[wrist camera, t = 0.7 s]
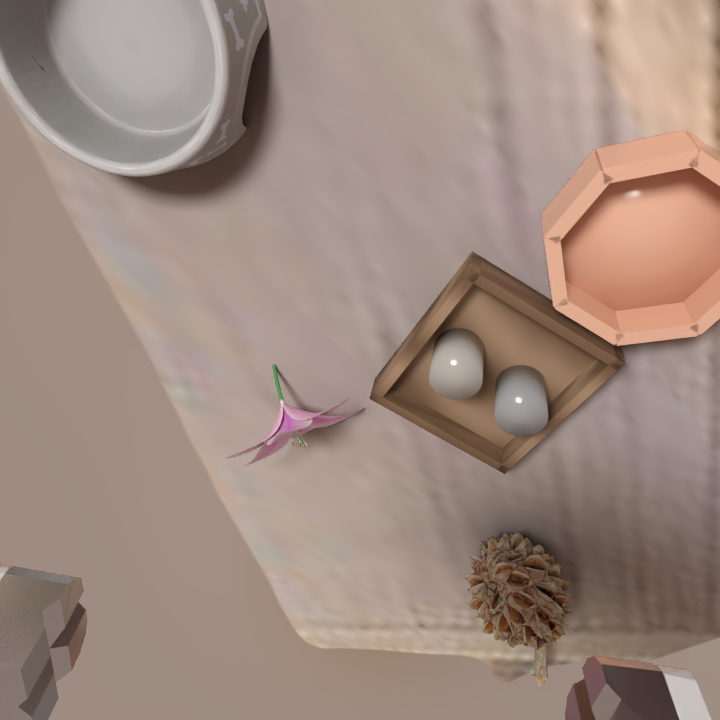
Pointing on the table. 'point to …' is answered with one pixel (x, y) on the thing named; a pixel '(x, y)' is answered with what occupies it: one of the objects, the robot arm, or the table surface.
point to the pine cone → (520, 595)
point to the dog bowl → (132, 77)
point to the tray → (495, 362)
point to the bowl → (639, 240)
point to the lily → (291, 426)
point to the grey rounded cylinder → (521, 401)
